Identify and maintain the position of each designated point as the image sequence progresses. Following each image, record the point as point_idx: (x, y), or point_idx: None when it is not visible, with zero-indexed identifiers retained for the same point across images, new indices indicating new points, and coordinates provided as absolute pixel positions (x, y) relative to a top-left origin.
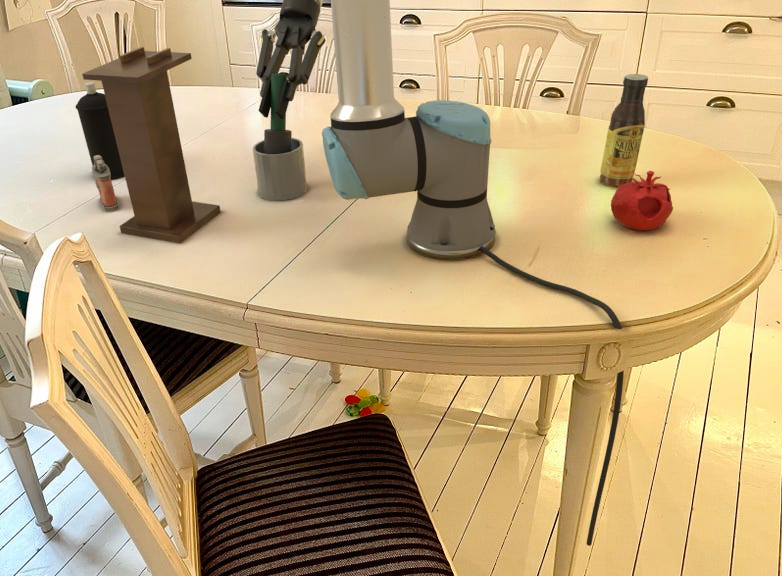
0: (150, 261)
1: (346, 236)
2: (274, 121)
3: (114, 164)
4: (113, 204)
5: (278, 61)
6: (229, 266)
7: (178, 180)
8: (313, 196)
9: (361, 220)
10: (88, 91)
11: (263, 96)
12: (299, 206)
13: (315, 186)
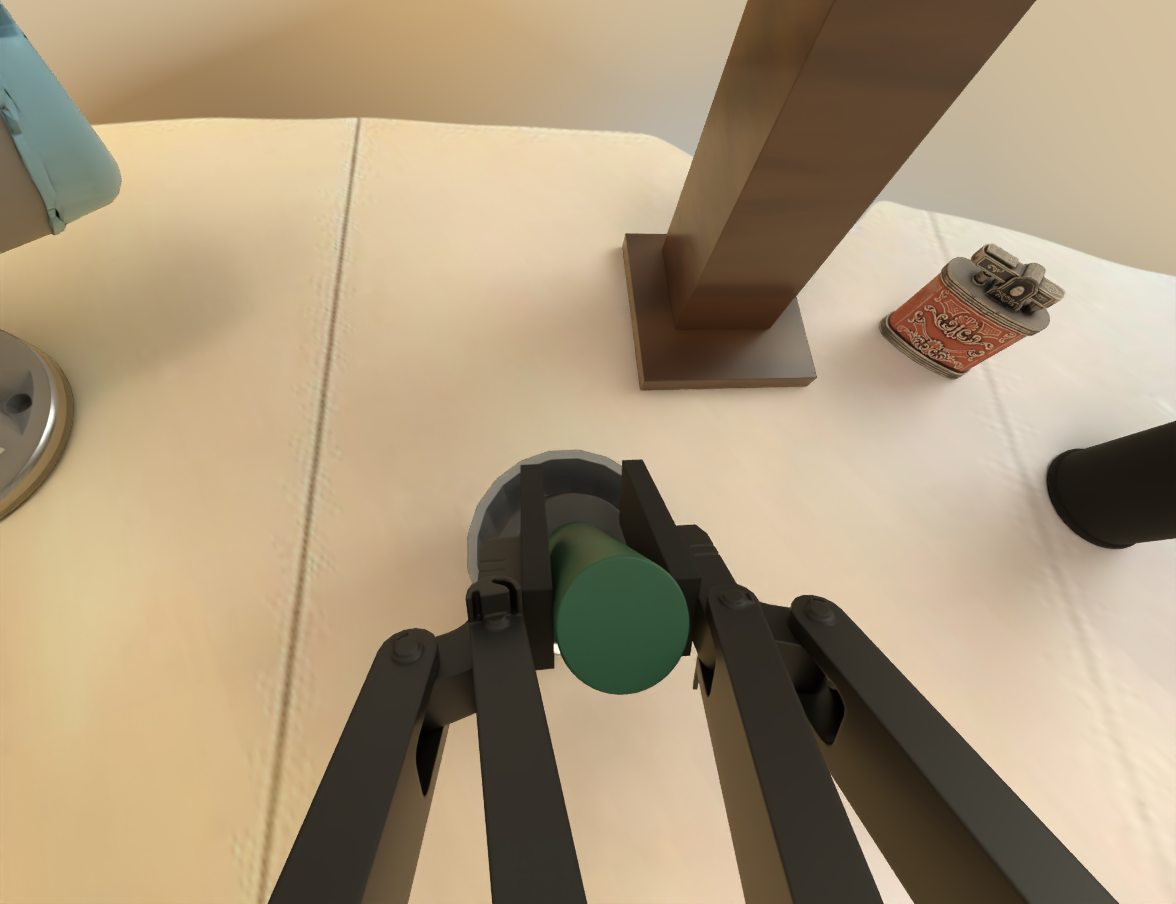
0: (627, 180)
1: (253, 375)
2: (579, 524)
3: (1092, 463)
4: (891, 317)
5: (745, 800)
6: (463, 202)
7: (701, 226)
8: (447, 561)
9: (239, 465)
10: None
11: (656, 503)
12: (456, 486)
13: None
